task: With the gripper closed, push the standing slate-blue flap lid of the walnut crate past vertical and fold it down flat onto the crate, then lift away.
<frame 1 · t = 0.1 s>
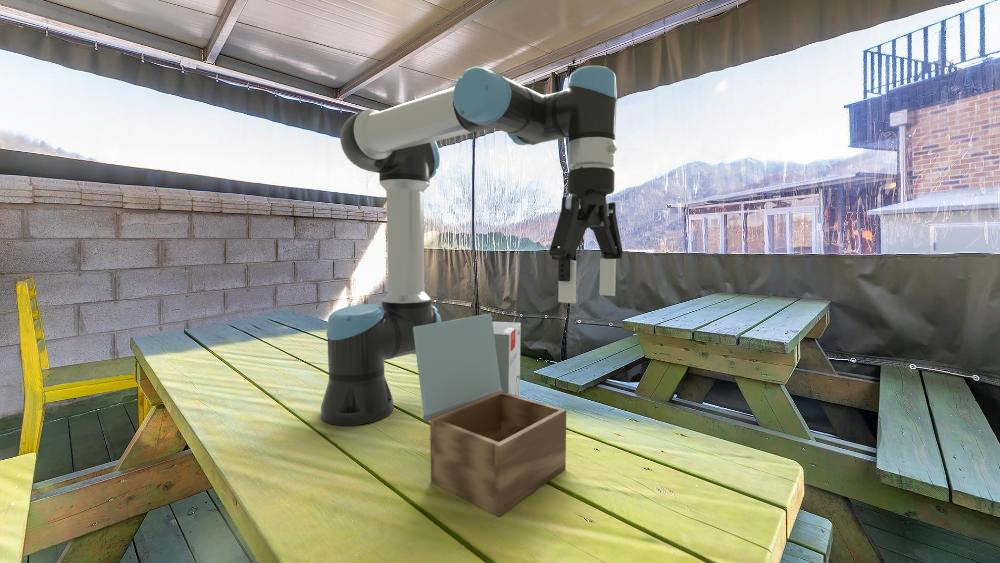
hand: (588, 298, 73), 28 cm above the table, tool pointing down, fingers open, 13 cm apart
crate: (500, 474, 70), on the table
lid: (461, 362, 74), point 17 cm above the table, hinge at 100.0°
hard drive box: (497, 420, 93), on the table
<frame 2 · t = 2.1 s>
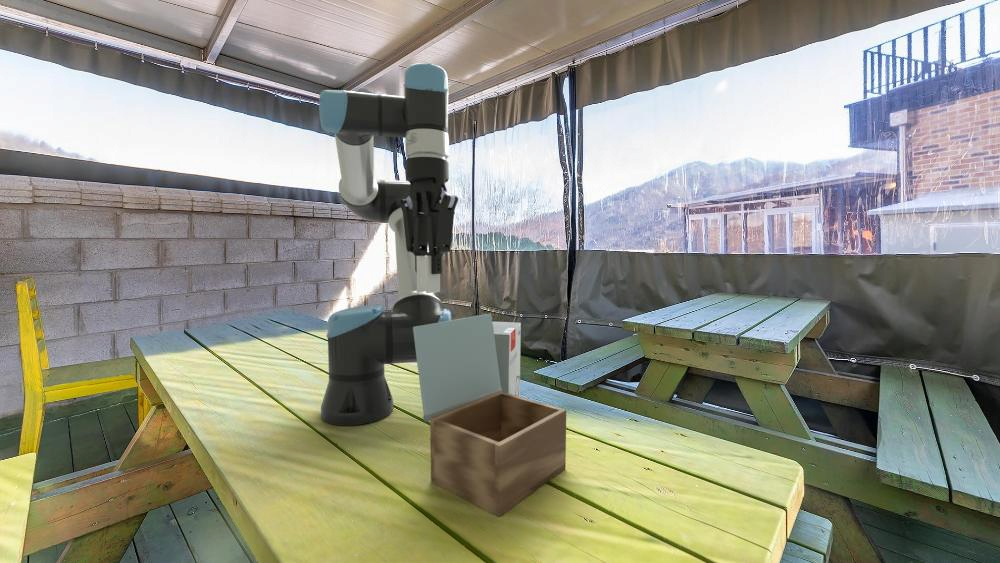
hand: (428, 291, 79), 28 cm above the table, tool pointing down, fingers closed
nothing on the table moved.
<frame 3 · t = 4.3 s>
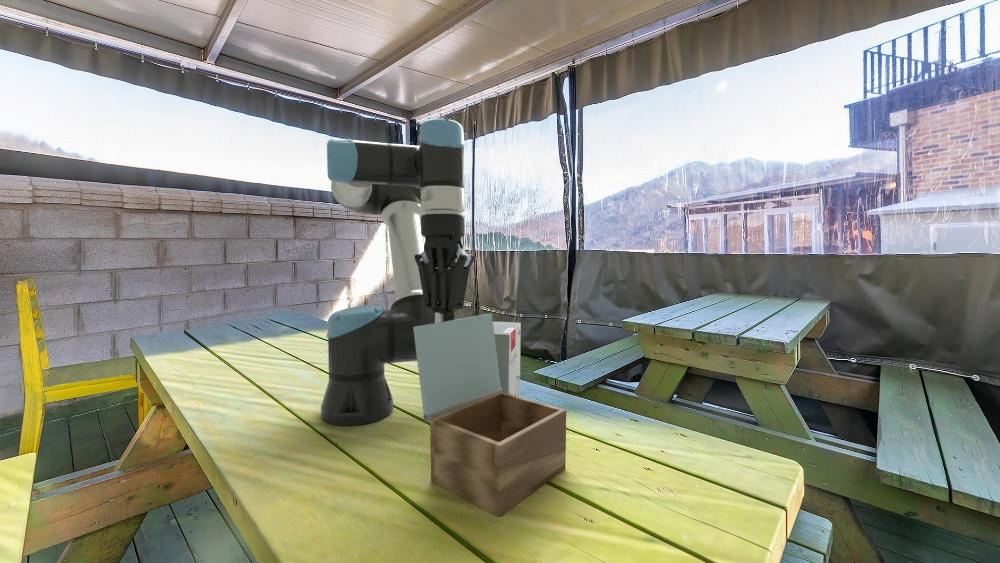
hand: (443, 348, 77), 19 cm above the table, tool pointing down, fingers closed
lid: (461, 362, 74), point 17 cm above the table, hinge at 99.5°, touching gripper
everything else where it was.
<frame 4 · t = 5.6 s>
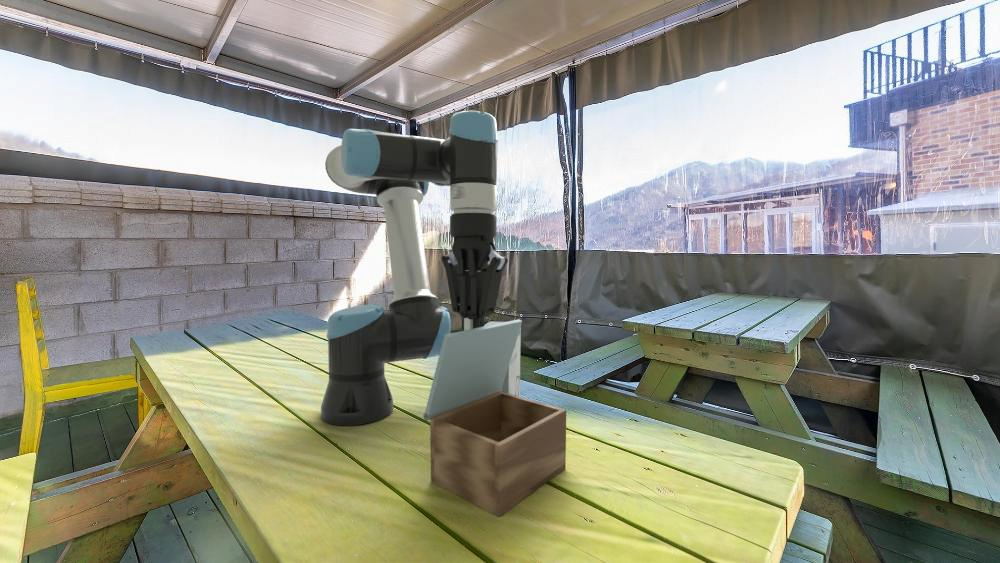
hand: (472, 356, 72), 18 cm above the table, tool pointing down, fingers closed
lid: (475, 367, 72), point 17 cm above the table, hinge at 70.3°, touching gripper
everything else where it was.
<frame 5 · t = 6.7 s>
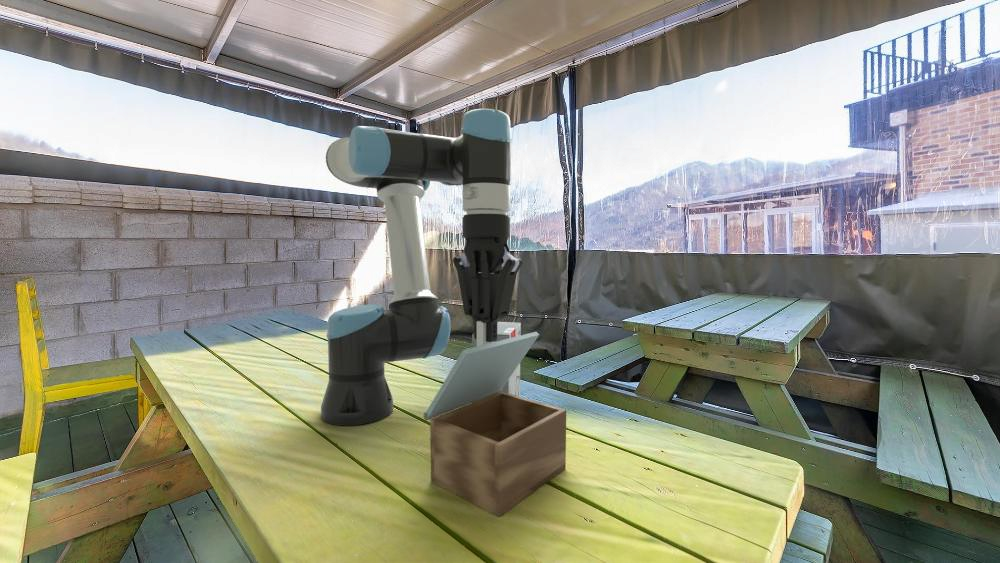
hand: (485, 360, 71), 18 cm above the table, tool pointing down, fingers closed
lid: (484, 373, 71), point 16 cm above the table, hinge at 53.7°, touching gripper
everything else where it was.
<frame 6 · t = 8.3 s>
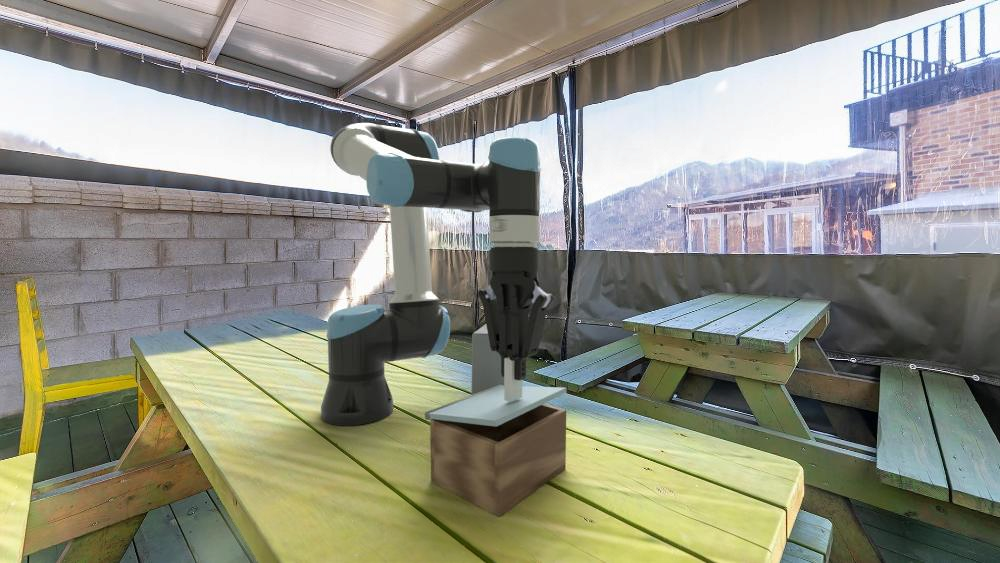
hand: (513, 398, 67), 13 cm above the table, tool pointing down, fingers closed
lid: (497, 402, 69), point 12 cm above the table, hinge at 10.3°, touching gripper
everything else where it was.
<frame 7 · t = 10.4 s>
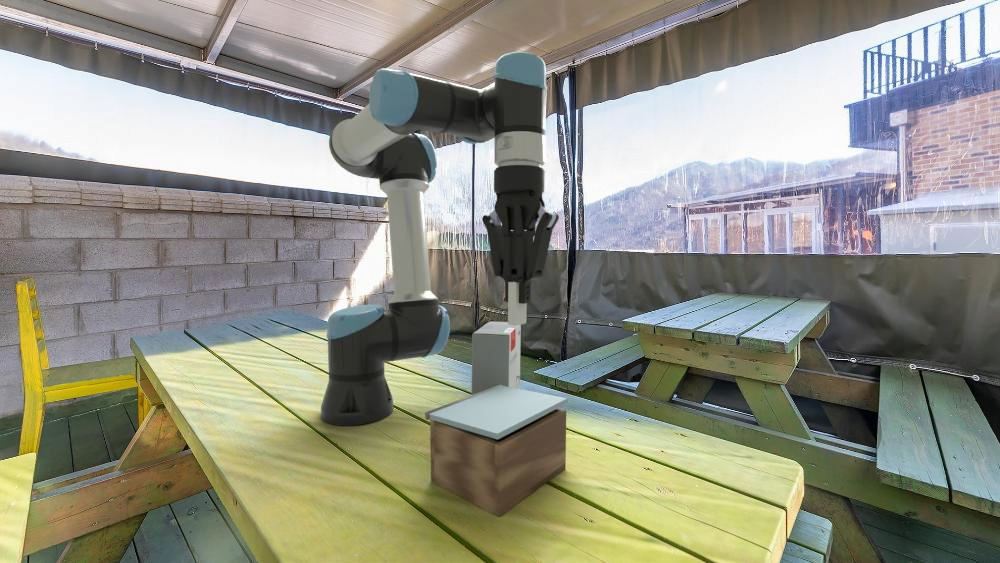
hand: (517, 323, 67), 25 cm above the table, tool pointing down, fingers closed
lid: (498, 407, 69), point 11 cm above the table, hinge at 3.3°
everything else where it was.
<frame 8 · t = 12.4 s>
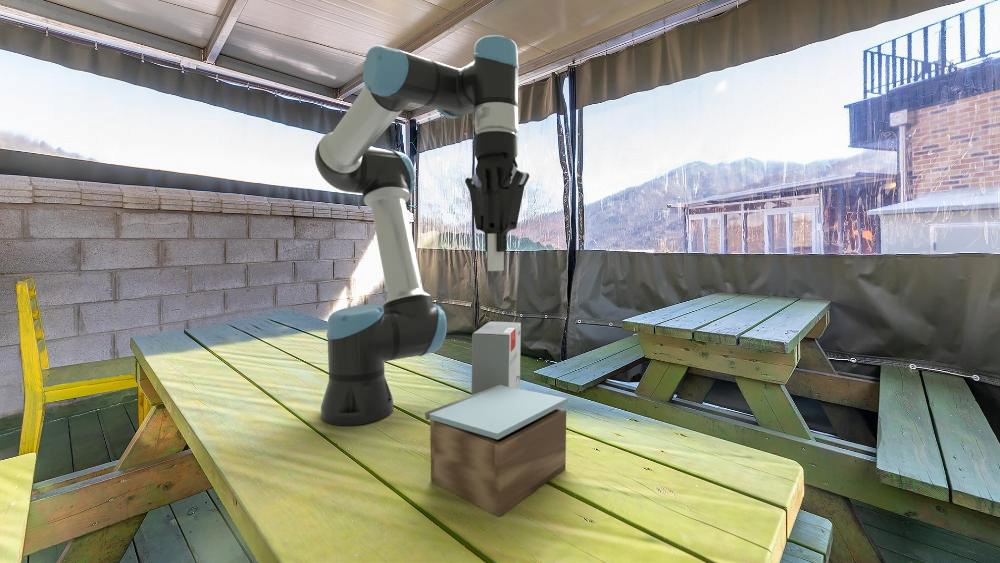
hand: (495, 270, 77), 32 cm above the table, tool pointing down, fingers closed
nothing on the table moved.
at the end: lid at +3° (first picture: +100°); lid touching nothing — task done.
